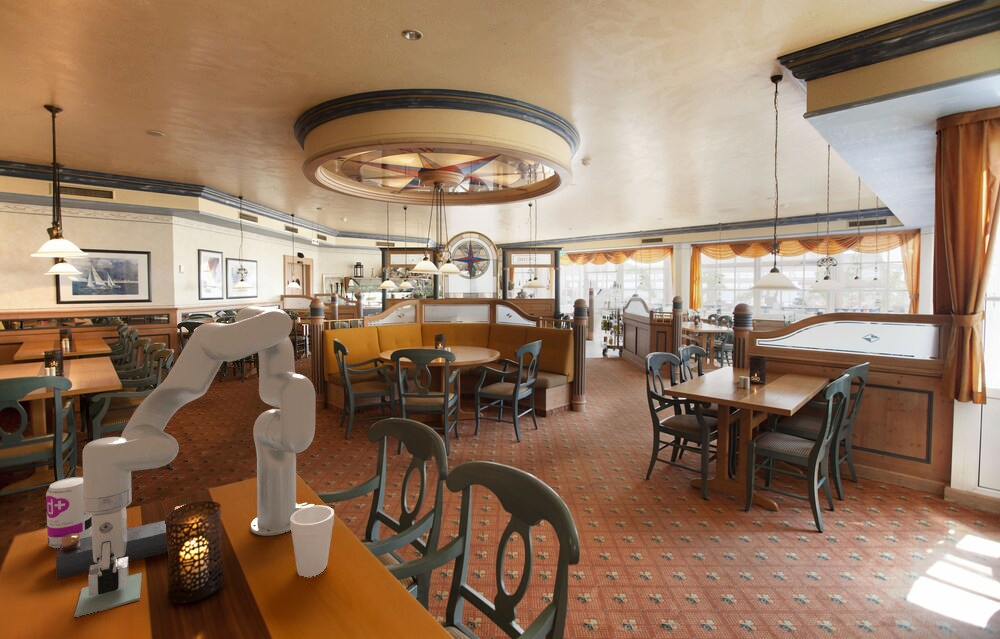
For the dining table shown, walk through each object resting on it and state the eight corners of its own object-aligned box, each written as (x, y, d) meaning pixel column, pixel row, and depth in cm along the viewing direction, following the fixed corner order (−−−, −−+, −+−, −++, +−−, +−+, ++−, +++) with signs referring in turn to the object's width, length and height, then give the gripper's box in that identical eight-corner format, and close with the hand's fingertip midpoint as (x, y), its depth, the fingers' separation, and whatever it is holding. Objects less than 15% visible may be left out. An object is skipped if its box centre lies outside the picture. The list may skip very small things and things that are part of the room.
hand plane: (188, 534, 121) (187, 500, 120) (189, 546, 115) (188, 511, 115) (62, 563, 107) (61, 525, 106) (56, 579, 101) (55, 539, 101)
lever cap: (128, 574, 100) (128, 553, 100) (127, 585, 97) (126, 564, 96) (91, 583, 97) (91, 562, 96) (88, 595, 93) (88, 573, 93)
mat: (141, 574, 104) (141, 572, 104) (139, 599, 96) (139, 597, 96) (82, 590, 98) (82, 588, 98) (74, 618, 90) (74, 616, 90)
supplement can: (65, 552, 111) (64, 491, 110) (39, 547, 113) (36, 487, 112) (101, 534, 119) (99, 477, 118) (75, 530, 121) (73, 474, 120)
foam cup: (341, 569, 108) (341, 515, 107) (301, 587, 101) (301, 529, 100) (321, 552, 114) (322, 501, 114) (283, 568, 108) (283, 514, 107)
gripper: (128, 511, 91) (130, 600, 92) (133, 480, 105) (134, 559, 106) (77, 521, 87) (79, 615, 88) (89, 488, 100) (91, 569, 101)
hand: (109, 583), depth 97 cm, fingers closed on lever cap, 4 cm apart
